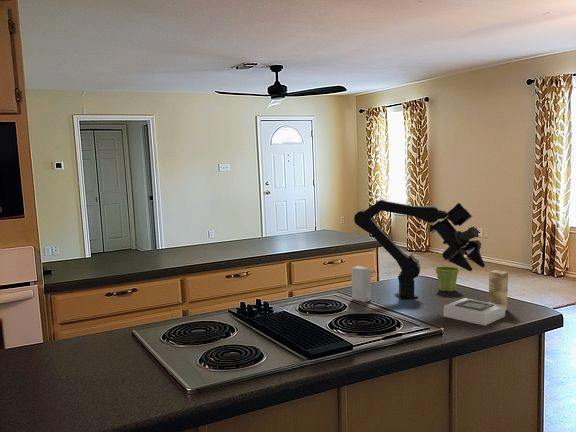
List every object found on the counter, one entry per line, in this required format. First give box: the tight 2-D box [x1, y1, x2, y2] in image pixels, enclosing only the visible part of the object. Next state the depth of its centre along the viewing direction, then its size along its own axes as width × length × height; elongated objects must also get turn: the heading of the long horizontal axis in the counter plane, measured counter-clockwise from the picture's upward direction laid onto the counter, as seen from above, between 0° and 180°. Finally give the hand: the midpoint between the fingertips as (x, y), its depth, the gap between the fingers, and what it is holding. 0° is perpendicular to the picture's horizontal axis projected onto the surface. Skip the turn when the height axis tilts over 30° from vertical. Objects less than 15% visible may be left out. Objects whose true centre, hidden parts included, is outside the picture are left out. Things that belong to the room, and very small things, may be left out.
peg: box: [488, 269, 509, 311], centre depth 173 cm, size 4×4×13 cm
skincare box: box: [350, 265, 372, 303], centre depth 188 cm, size 6×4×12 cm
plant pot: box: [434, 265, 461, 292], centre depth 202 cm, size 9×9×9 cm
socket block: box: [443, 297, 506, 326], centre depth 166 cm, size 14×14×4 cm
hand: (477, 268), depth 178 cm, fingers open, 9 cm apart
